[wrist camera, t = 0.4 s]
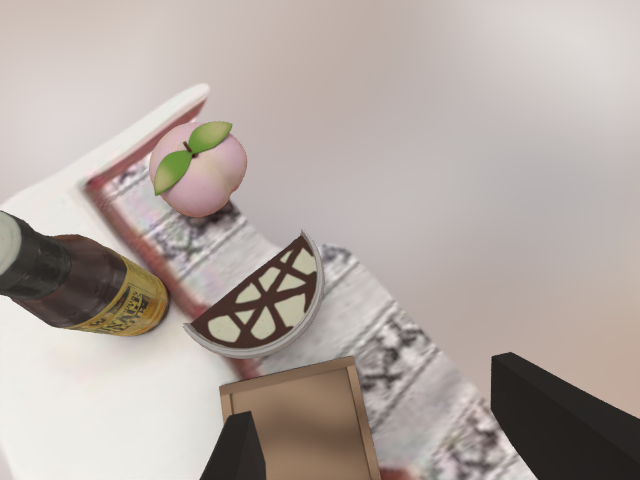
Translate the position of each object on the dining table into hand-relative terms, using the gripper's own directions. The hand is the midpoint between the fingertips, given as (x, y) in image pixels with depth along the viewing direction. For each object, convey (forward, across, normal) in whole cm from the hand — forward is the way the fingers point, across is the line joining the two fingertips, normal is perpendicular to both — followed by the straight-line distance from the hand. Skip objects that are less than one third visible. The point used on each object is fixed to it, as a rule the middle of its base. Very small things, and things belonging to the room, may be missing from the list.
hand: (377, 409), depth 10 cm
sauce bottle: (+26, +17, +7) cm, 32 cm away
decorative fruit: (+33, +9, -2) cm, 34 cm away
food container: (+24, +4, +11) cm, 26 cm away
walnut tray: (+17, +4, +19) cm, 26 cm away
